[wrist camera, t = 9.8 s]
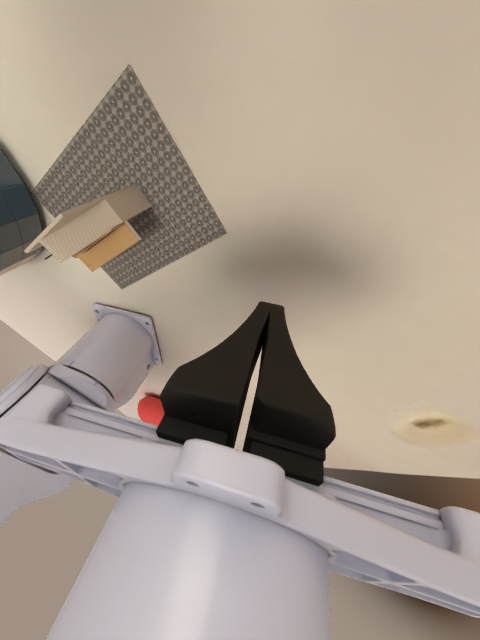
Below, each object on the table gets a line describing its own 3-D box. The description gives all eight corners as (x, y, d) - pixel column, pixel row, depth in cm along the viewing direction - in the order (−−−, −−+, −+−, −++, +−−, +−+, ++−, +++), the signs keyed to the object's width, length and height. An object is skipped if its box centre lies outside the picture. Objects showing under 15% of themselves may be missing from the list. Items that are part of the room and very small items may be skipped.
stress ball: (168, 384, 42) (134, 407, 38) (194, 425, 42) (164, 452, 39) (161, 383, 46) (130, 405, 42) (185, 421, 47) (157, 445, 43)
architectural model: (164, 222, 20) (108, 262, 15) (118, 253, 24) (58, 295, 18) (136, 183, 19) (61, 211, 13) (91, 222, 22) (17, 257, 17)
